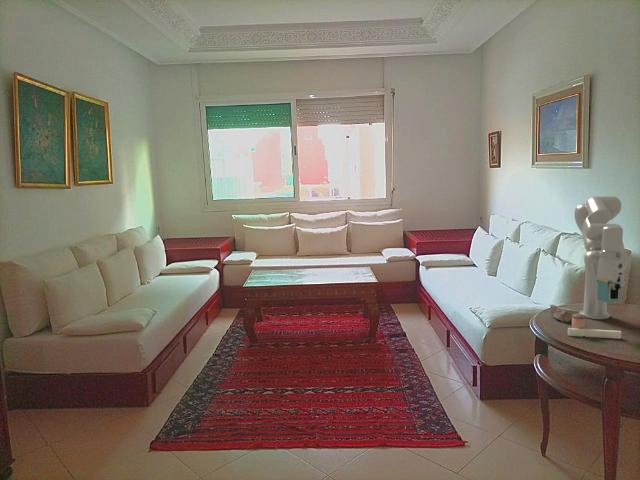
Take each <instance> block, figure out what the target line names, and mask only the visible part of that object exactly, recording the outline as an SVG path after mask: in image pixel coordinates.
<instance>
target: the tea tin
mask: <svg viewBox="0 0 640 480" xmlns="http://www.w3.org/2000/svg"><path fill="white" fill-rule="evenodd" d="M619 283H620V282H619ZM615 285H616V284H615ZM621 289H622V287H621V288H620V289H619V294H618V299H611V291H612V290H613V287H612V282H611V280H606V279H602V278H598V291H597V300H599V301H603V302H606V303H607V304H608V303H615V302H620V301H621Z"/></svg>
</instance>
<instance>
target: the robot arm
mask: <svg viewBox="0 0 640 480" xmlns="http://www.w3.org/2000/svg"><path fill="white" fill-rule="evenodd" d="M621 210H622V202H621V200H620V198H618V197H617V196H592V197H589V198H588V200H586V203H582V204H579V205H577V206H576V207H575V209H574V221H575V224H576V225H577V228H578V229H579V231H580V233H581V235H582V241H583V246H584V249H585V251H586V253H585V254H584V258H583V261H584V262H583V263H584V270H585V273H584V277H585V278H584V295H583V308H582V309H581V310H579V314H583V315H585V316H586V318H587V319H591V320H607V319H610V316H611V314H610V313H609V312H608V311H607V307H608V303H606V302H603V301H599V300H597V291H598V278H602V279H606V280H611V282H612V287H613V290H612V291H611V299H618V294H619V289H620V288H621V289H622V288H623V286H625V285H626V284H627V282H626V281H625V270H626V269H627V268H628V264H629V261H628V255H627V252H626V248H625V246H624V242H623V235H624V229H623V228H622V226H621V225H620V224H617V223H609V222H610V221H612V220H614V219H615V218H616V217H617V216H618V215H619V214H620V213H621ZM619 282H620V283H619ZM615 284H616V285H615ZM586 318H585V319H586Z"/></svg>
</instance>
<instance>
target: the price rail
mask: <svg viewBox="0 0 640 480" xmlns="http://www.w3.org/2000/svg"><path fill="white" fill-rule="evenodd" d="M567 336H570V337H583V336H585V337H584V338H587V337H588V338H600V339H601V338H605V339H616V340H617V339H622V331H621V330H615V329H613V330H611V329H610V330H609V329H594V328H593V329H592V328H585V329H578V328H572V327H567Z"/></svg>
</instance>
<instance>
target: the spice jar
mask: <svg viewBox="0 0 640 480" xmlns="http://www.w3.org/2000/svg"><path fill="white" fill-rule="evenodd" d="M585 325H586V316H585V315H583V314H580V313H578V314H577V313H576V314H572V322H571V328H578V329H586V328H585V327H586V326H585Z"/></svg>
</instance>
